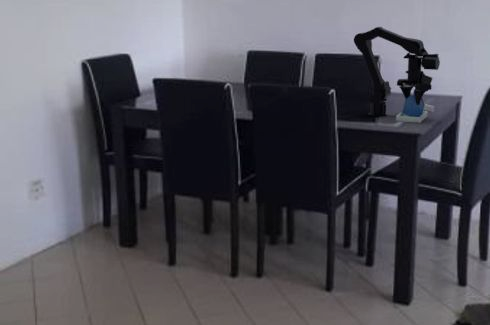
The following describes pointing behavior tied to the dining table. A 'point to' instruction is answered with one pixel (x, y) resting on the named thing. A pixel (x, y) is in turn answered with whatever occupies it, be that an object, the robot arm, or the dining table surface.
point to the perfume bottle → (413, 107)
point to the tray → (411, 119)
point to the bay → (428, 108)
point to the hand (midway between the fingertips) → (412, 103)
